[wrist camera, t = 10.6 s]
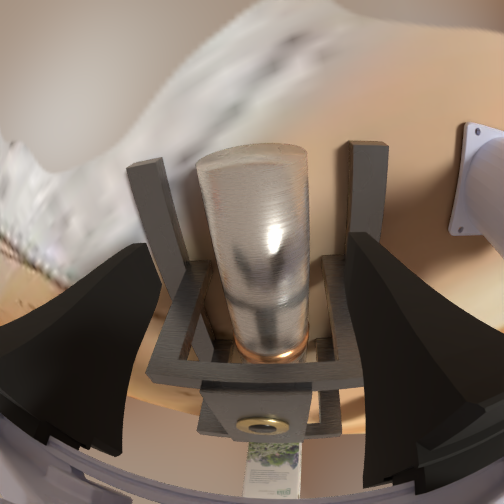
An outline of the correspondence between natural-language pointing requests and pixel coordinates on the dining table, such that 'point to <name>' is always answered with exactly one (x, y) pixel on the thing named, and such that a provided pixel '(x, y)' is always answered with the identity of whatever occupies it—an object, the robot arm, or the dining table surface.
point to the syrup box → (273, 471)
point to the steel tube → (261, 245)
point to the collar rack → (220, 351)
